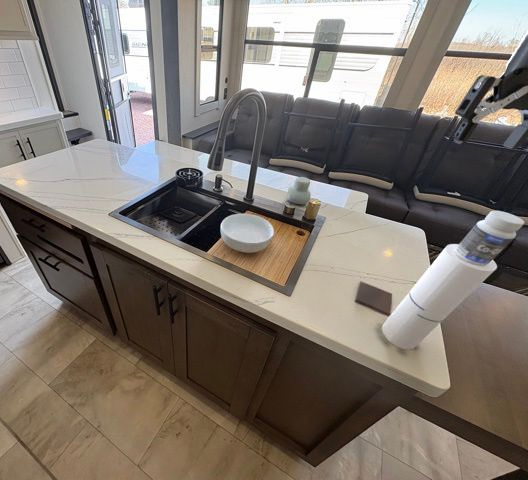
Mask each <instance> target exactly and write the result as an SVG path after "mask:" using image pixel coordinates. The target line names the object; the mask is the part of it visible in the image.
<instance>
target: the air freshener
mask: <svg viewBox="0 0 528 480" xmlns="http://www.w3.org/2000/svg"><path fill="white" fill-rule="evenodd" d="M310 185H311V180H310V179H309V178H308V177H306V176H298V177H296V178H295V180H294V183H293V186H290V187H288V190H287V200H288V201H289V202H291V203H293V204H295V205H305V204H308V203H309V202H310V201H311V196H312V195H311V194H312V193H311V190H310V189H309V188H310ZM309 200H310V201H309ZM308 201H309V202H308Z"/></svg>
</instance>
